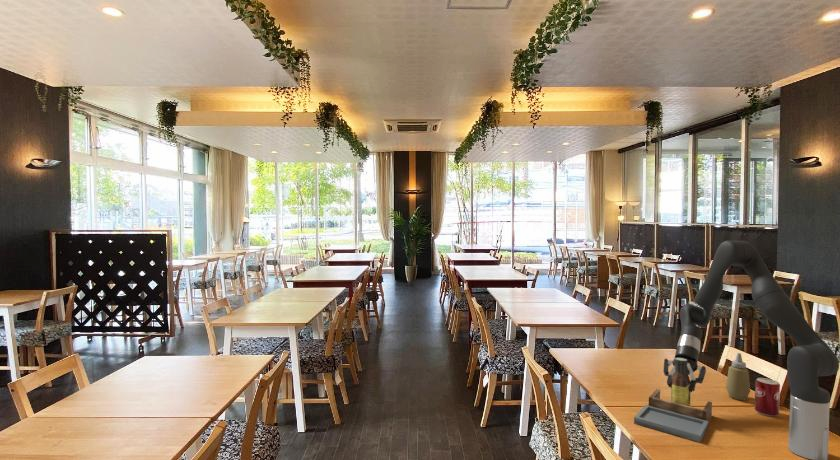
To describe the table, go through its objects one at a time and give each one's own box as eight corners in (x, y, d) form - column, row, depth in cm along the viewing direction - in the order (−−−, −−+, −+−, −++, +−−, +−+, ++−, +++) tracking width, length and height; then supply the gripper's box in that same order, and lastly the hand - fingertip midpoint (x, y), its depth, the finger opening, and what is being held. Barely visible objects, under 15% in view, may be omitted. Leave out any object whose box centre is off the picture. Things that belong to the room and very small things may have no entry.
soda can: (756, 414, 168) (757, 382, 168) (752, 407, 174) (753, 376, 174) (781, 418, 165) (782, 385, 164) (776, 411, 171) (777, 379, 171)
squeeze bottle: (720, 395, 186) (722, 351, 185) (733, 392, 189) (734, 349, 188) (742, 403, 178) (743, 357, 178) (754, 399, 182) (756, 355, 181)
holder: (711, 415, 166) (712, 402, 166) (705, 426, 158) (706, 411, 158) (656, 401, 179) (656, 389, 178) (648, 410, 170) (648, 397, 170)
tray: (708, 427, 157) (708, 421, 157) (700, 442, 146) (700, 435, 146) (645, 410, 170) (645, 404, 170) (633, 423, 159) (634, 417, 159)
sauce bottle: (692, 417, 165) (694, 362, 164) (673, 415, 166) (675, 361, 165) (686, 409, 171) (687, 357, 171) (667, 408, 173) (669, 356, 172)
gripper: (665, 340, 179) (656, 378, 170) (708, 348, 169) (701, 388, 161) (668, 351, 183) (660, 388, 174) (710, 359, 173) (703, 399, 165)
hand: (680, 388), depth 168 cm, fingers closed on sauce bottle, 6 cm apart
